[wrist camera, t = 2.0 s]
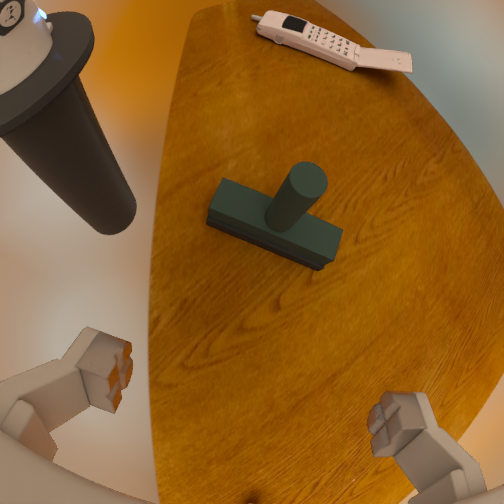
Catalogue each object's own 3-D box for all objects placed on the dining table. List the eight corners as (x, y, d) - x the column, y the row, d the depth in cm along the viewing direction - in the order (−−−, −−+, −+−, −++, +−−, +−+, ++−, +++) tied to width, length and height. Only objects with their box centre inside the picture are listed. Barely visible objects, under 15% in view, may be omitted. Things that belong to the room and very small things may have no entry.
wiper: (205, 224, 30) (209, 167, 18) (222, 190, 31) (234, 120, 19) (317, 271, 30) (381, 243, 19) (328, 236, 31) (391, 193, 20)
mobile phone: (414, 74, 33) (247, 3, 31) (395, 97, 38) (240, 33, 36) (412, 54, 34) (259, -11, 32) (395, 76, 40) (253, 17, 38)
